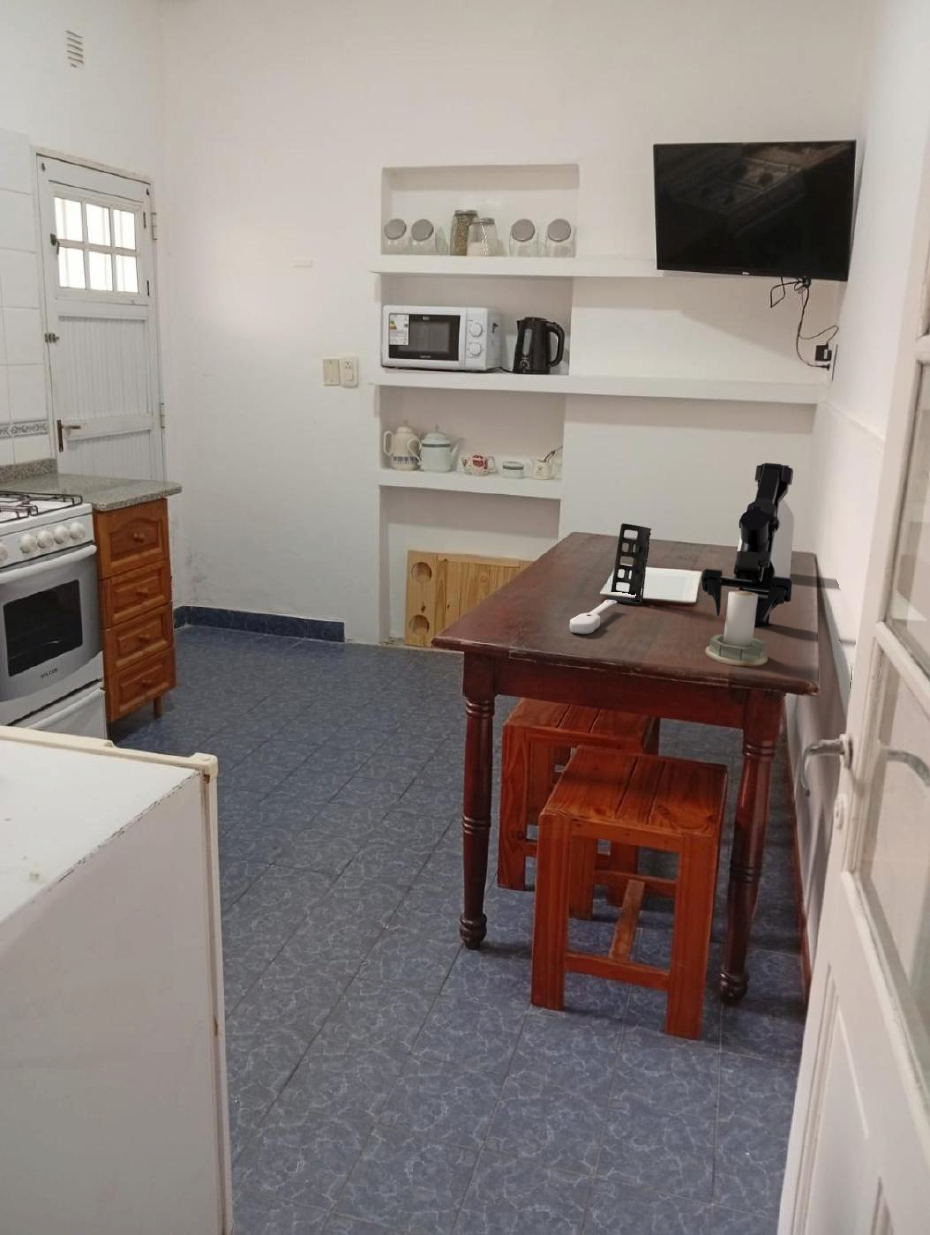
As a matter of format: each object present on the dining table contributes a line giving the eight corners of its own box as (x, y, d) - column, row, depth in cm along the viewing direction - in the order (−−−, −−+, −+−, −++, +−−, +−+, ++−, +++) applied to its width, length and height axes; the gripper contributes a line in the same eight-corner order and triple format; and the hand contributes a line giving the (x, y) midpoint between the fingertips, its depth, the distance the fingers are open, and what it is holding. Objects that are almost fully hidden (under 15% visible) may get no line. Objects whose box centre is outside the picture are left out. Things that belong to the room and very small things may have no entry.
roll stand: (746, 647, 221) (748, 632, 220) (779, 664, 209) (781, 648, 208) (694, 649, 218) (695, 634, 217) (724, 667, 206) (726, 651, 205)
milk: (766, 570, 309) (777, 487, 302) (789, 578, 298) (800, 492, 292) (733, 571, 305) (743, 487, 299) (755, 579, 295) (766, 492, 288)
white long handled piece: (600, 609, 250) (601, 598, 250) (622, 612, 248) (623, 601, 248) (564, 633, 226) (565, 621, 225) (588, 637, 223) (589, 625, 223)
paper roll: (732, 646, 217) (739, 588, 214) (756, 653, 213) (763, 594, 210) (716, 651, 213) (723, 591, 210) (740, 658, 209) (747, 597, 206)
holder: (600, 598, 261) (612, 522, 257) (616, 596, 266) (628, 523, 262) (636, 606, 253) (648, 529, 250) (652, 605, 259) (664, 529, 255)
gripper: (707, 531, 214) (693, 591, 207) (797, 540, 207) (786, 602, 200) (709, 561, 223) (696, 619, 216) (796, 571, 216) (785, 631, 209)
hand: (739, 617), depth 210 cm, fingers open, 9 cm apart
